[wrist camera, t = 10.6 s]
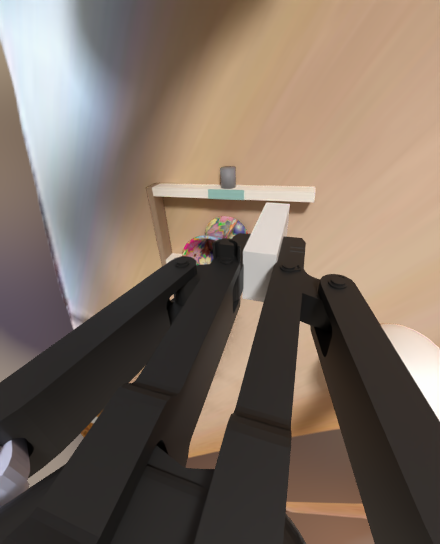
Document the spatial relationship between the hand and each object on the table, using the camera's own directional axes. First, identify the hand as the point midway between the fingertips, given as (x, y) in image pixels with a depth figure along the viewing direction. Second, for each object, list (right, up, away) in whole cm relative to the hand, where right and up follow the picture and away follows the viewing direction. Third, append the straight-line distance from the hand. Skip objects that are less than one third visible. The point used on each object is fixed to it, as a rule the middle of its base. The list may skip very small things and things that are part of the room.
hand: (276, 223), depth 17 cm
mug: (-2, +5, +31) cm, 31 cm away
